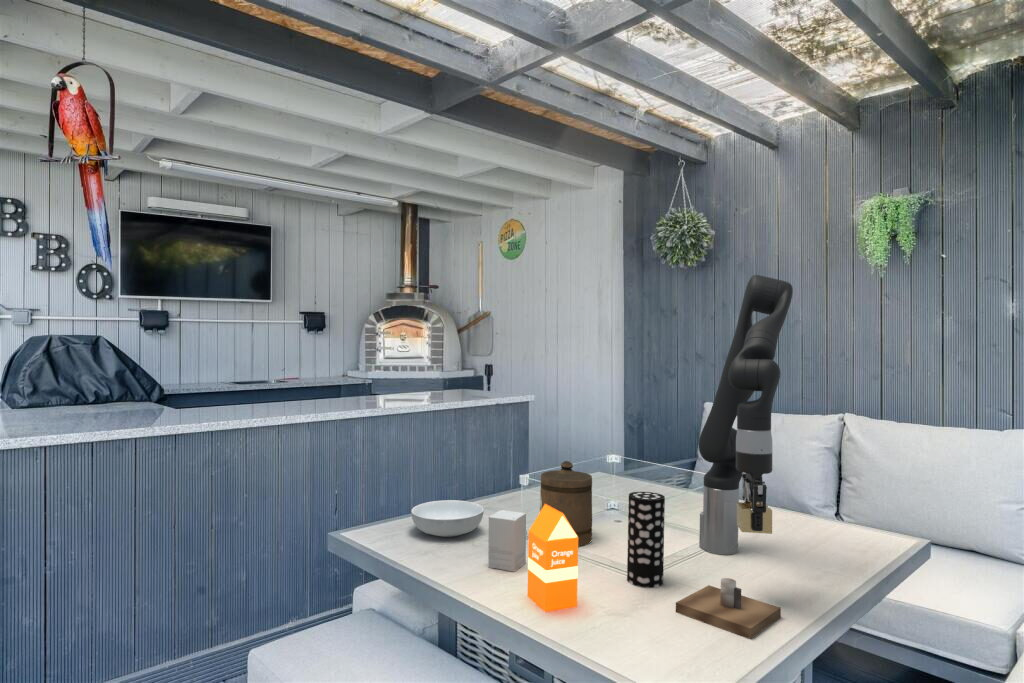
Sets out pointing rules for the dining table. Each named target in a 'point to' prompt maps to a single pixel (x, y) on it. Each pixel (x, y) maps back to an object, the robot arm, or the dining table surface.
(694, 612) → the shaft stand
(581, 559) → the dining table surface
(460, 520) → the serving bowl
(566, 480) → the wooden container
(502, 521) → the supplement box
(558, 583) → the orange juice
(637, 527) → the spotted tube
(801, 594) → the dining table surface
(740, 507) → the slotted square frame
